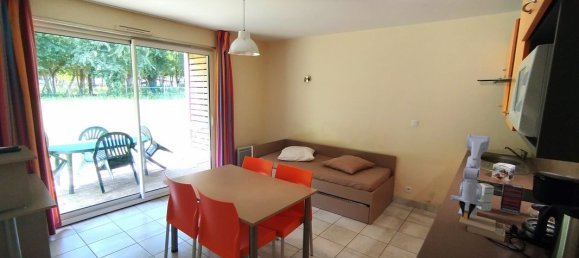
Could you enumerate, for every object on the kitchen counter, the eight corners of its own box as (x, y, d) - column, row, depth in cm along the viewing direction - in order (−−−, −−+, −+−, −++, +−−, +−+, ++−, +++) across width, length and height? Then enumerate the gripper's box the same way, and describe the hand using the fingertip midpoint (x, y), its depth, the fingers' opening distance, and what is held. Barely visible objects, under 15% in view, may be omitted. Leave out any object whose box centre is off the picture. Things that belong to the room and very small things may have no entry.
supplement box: (518, 212, 151) (523, 185, 148) (519, 215, 147) (524, 188, 144) (499, 208, 156) (503, 182, 153) (499, 211, 152) (503, 184, 149)
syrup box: (491, 211, 151) (495, 186, 149) (481, 210, 151) (485, 186, 149) (483, 206, 157) (487, 183, 155) (473, 206, 157) (477, 183, 154)
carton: (470, 220, 139) (470, 215, 138) (504, 230, 130) (505, 224, 130) (466, 231, 128) (467, 225, 128) (503, 242, 119) (504, 236, 119)
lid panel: (462, 212, 141) (463, 206, 140) (495, 221, 132) (496, 215, 131) (458, 222, 130) (459, 215, 129) (494, 232, 121) (495, 225, 121)
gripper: (451, 189, 133) (447, 214, 135) (486, 197, 124) (482, 224, 126) (453, 185, 139) (450, 210, 141) (487, 193, 130) (483, 219, 132)
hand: (465, 216), depth 134 cm, fingers closed on lid panel, 2 cm apart
